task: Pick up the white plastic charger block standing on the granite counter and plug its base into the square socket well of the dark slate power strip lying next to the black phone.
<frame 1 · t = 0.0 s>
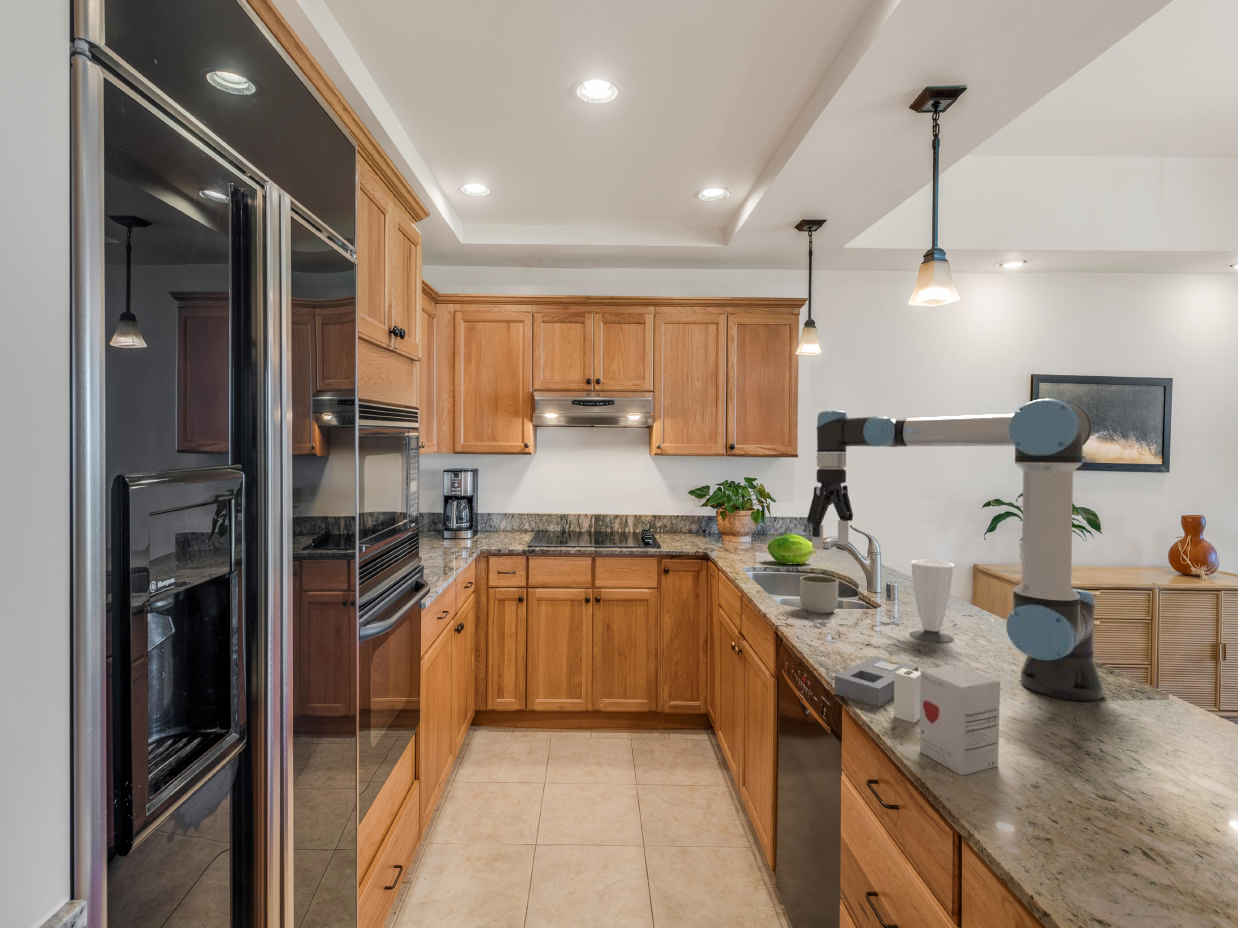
hand: (830, 546, 165), 28 cm above the countertop, fingers open, 13 cm apart
supplement box: (957, 760, 107), on the countertop
charger: (908, 716, 124), on the countertop
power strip: (877, 688, 138), on the countertop
planter: (818, 611, 206), on the countertop
cup: (931, 637, 177), on the countertop
phone: (948, 698, 133), on the countertop
green oval fruit: (791, 564, 293), on the countertop
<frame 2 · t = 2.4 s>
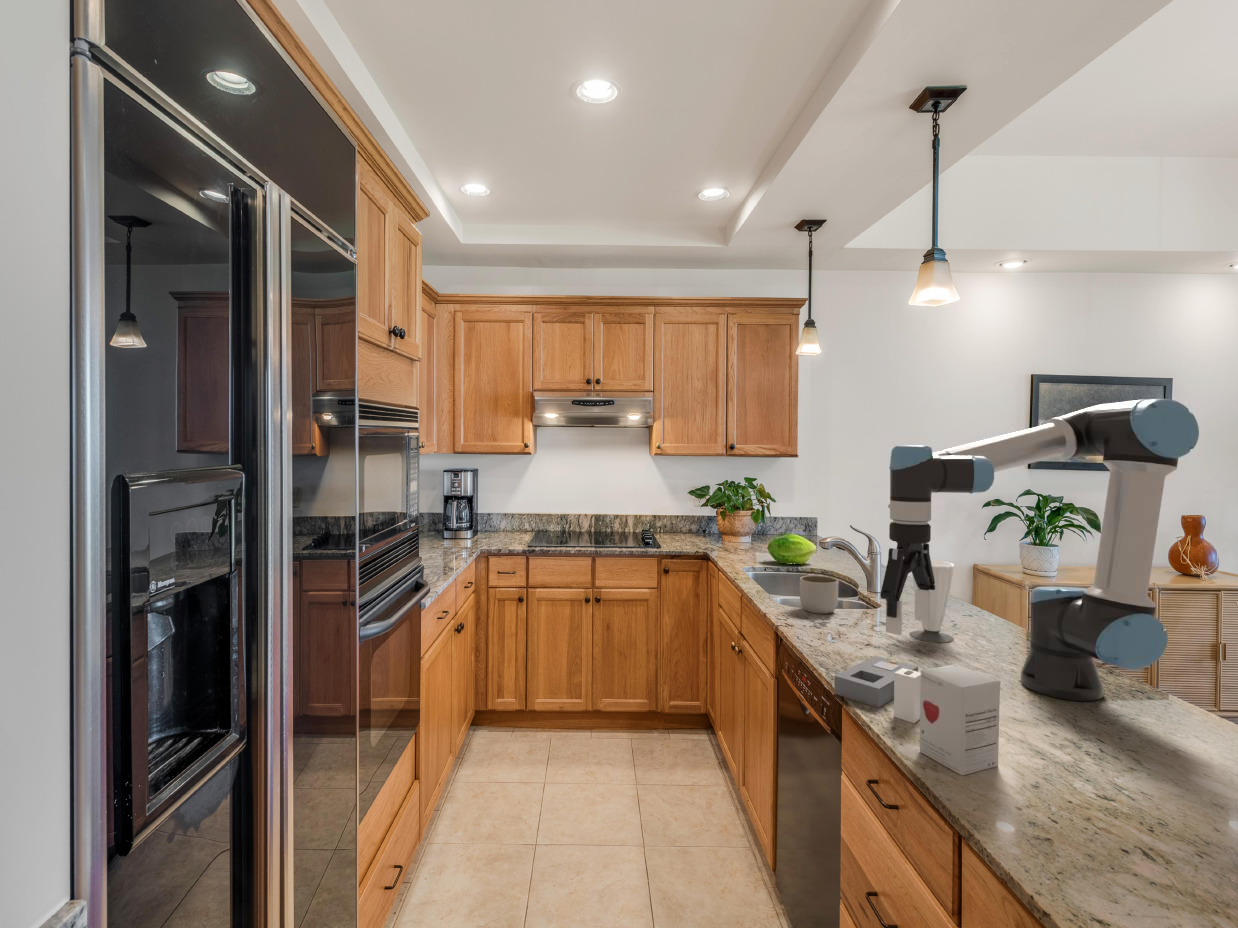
hand: (908, 626, 123), 18 cm above the countertop, fingers open, 13 cm apart
nothing on the countertop moved.
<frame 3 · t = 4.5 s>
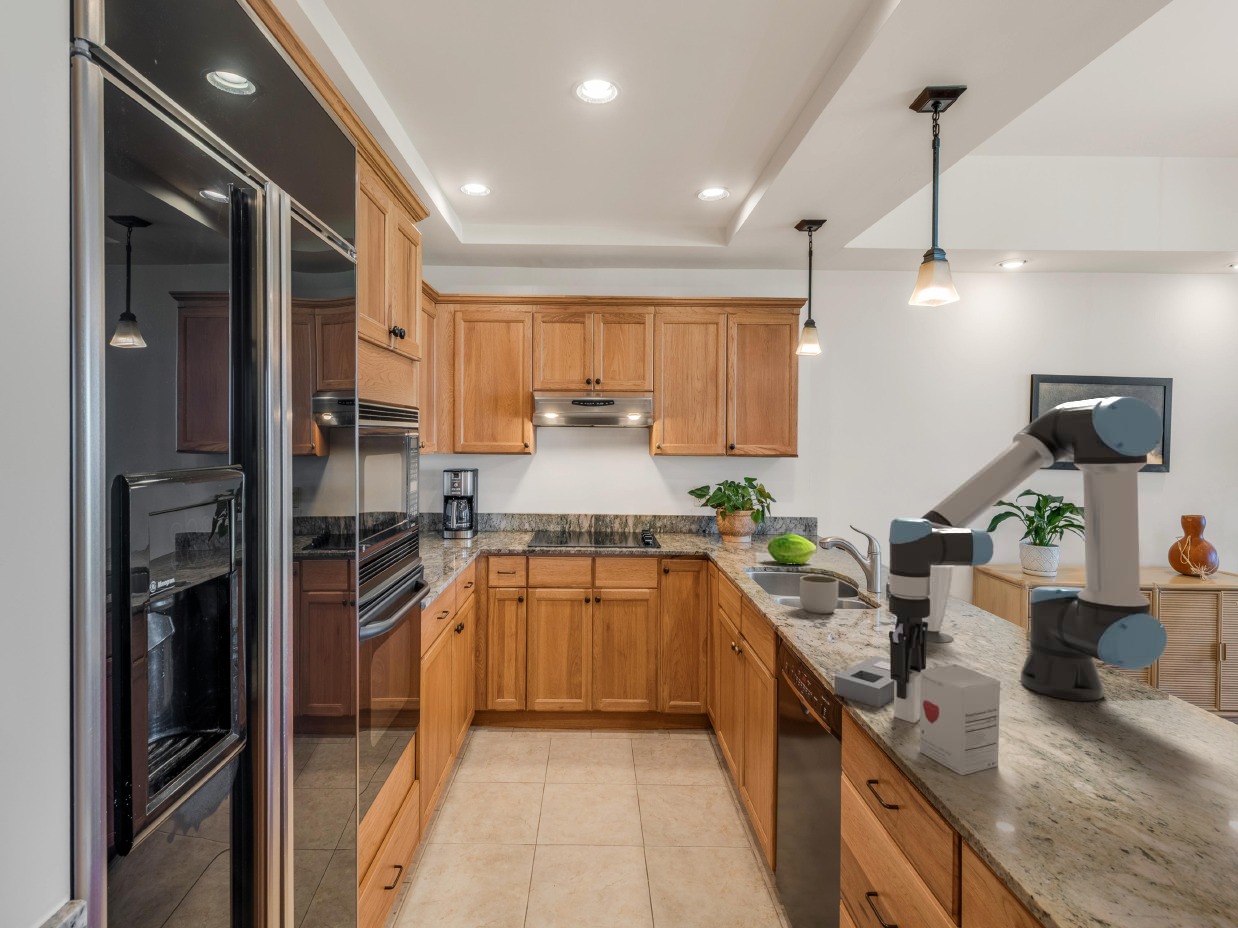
hand: (908, 709, 124), 1 cm above the countertop, fingers closed on charger, 4 cm apart
charger: (908, 716, 124), on the countertop, touching gripper
everything else where it was.
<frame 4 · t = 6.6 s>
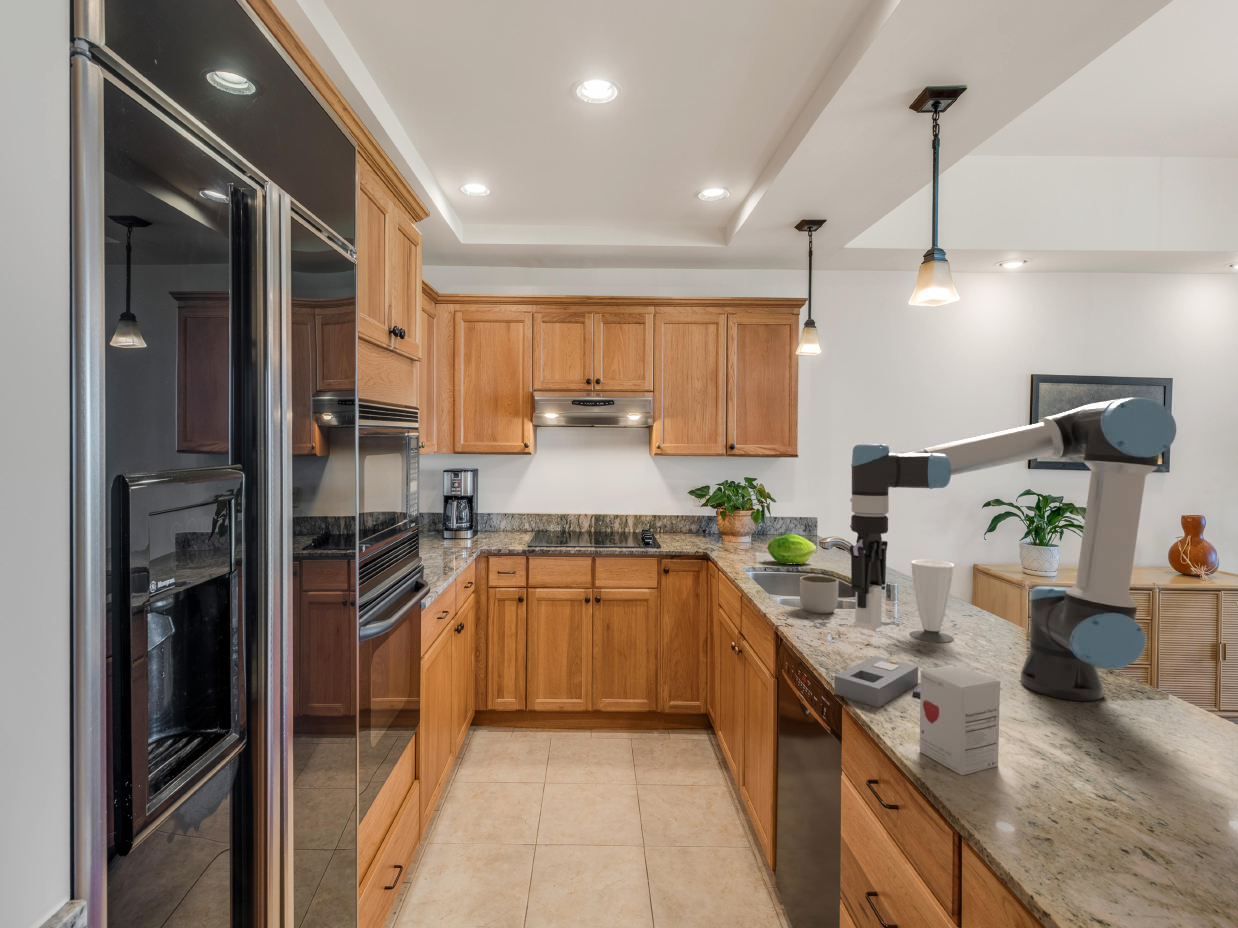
hand: (868, 619, 134), 17 cm above the countertop, fingers closed on charger, 4 cm apart
charger: (868, 626, 134), point 15 cm above the countertop, touching gripper
everything else where it was.
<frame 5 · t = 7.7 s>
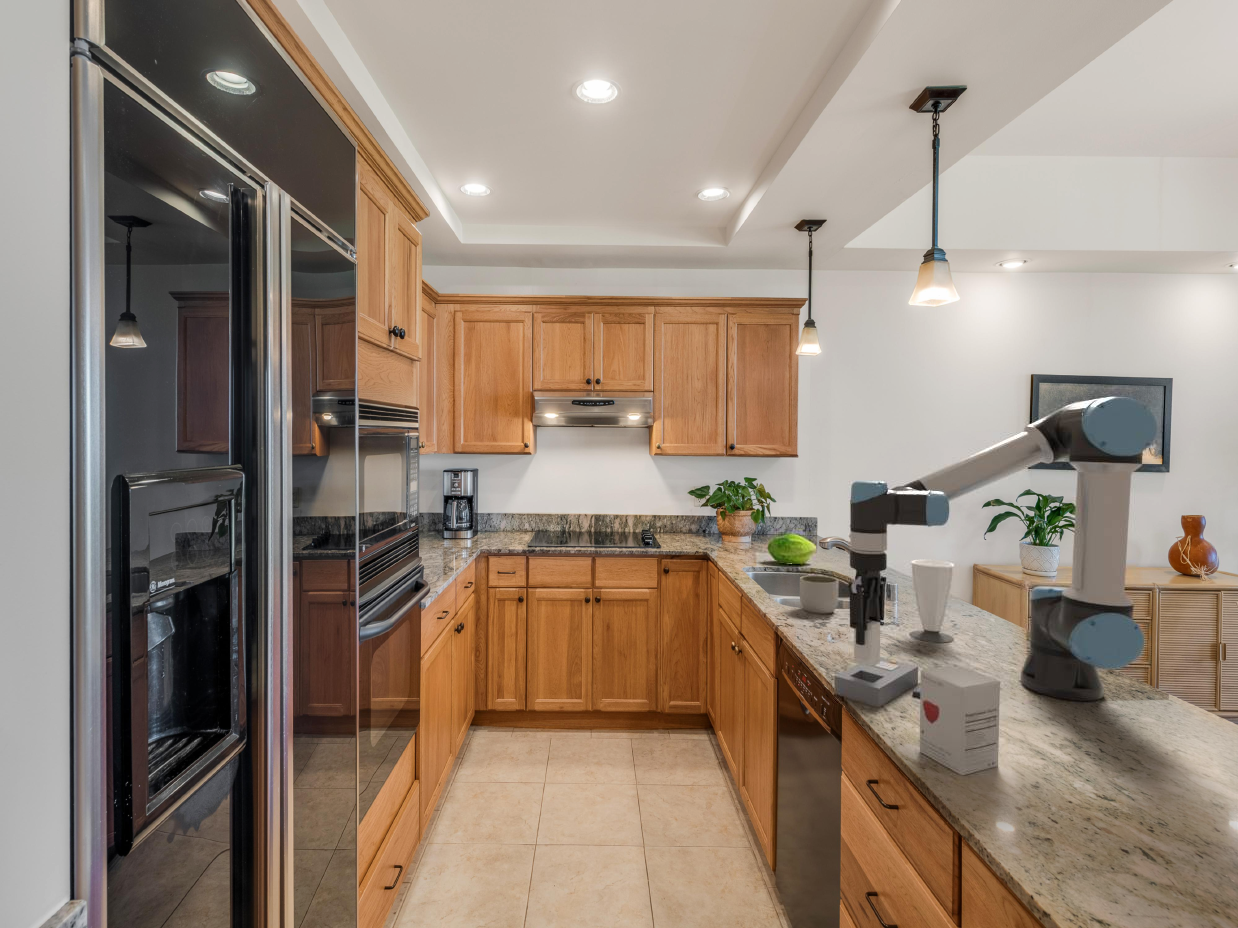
hand: (867, 655, 135), 9 cm above the countertop, fingers closed on charger, 4 cm apart
charger: (866, 662, 135), point 7 cm above the countertop, touching gripper
everything else where it was.
when the fingers open (4 cm above the countertop, at t = 8.7 s): charger drops 2 cm, resting on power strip.
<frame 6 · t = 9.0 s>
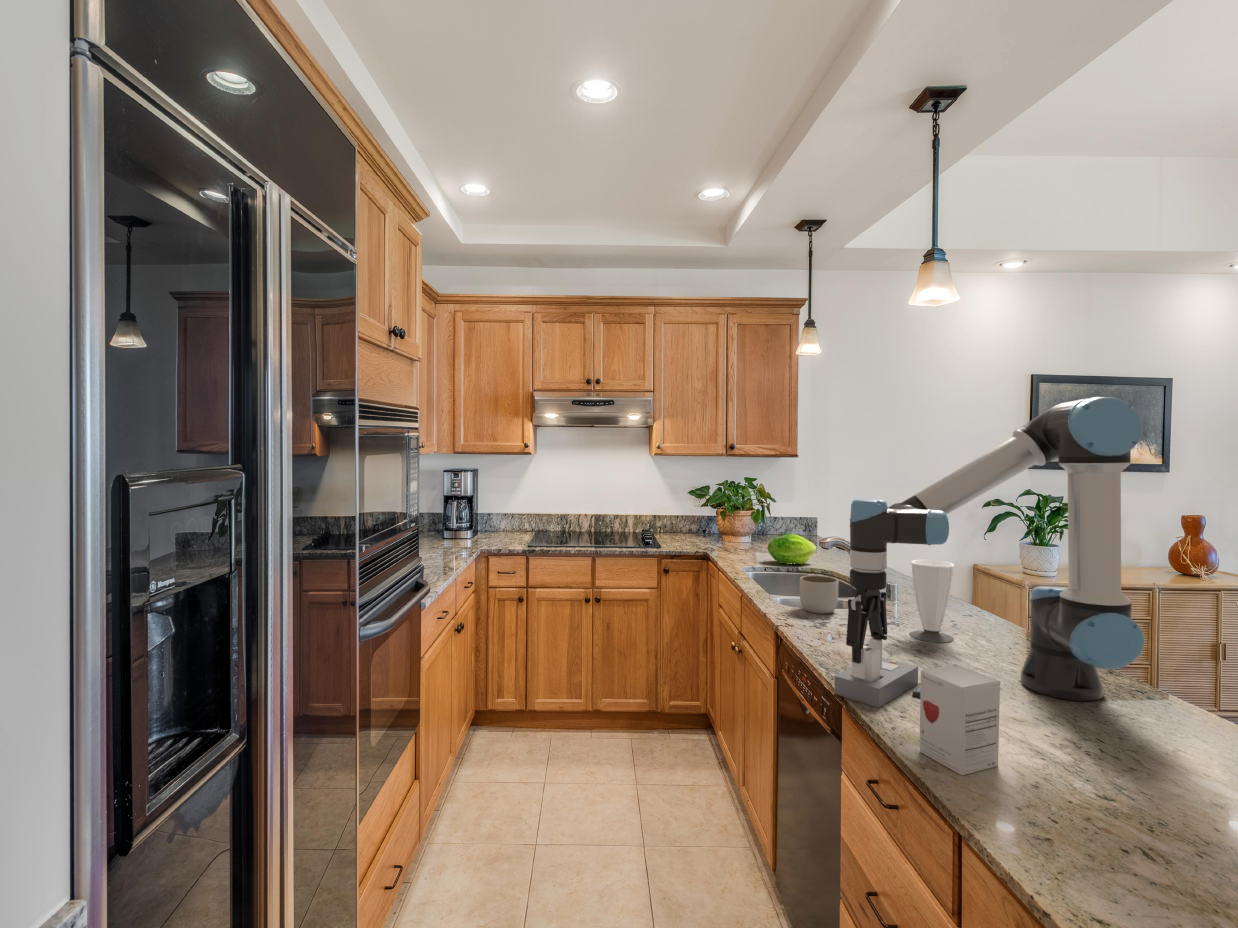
hand: (867, 672, 135), 5 cm above the countertop, fingers open, 7 cm apart
charger: (866, 689, 135), point 1 cm above the countertop, touching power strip
everything else where it was.
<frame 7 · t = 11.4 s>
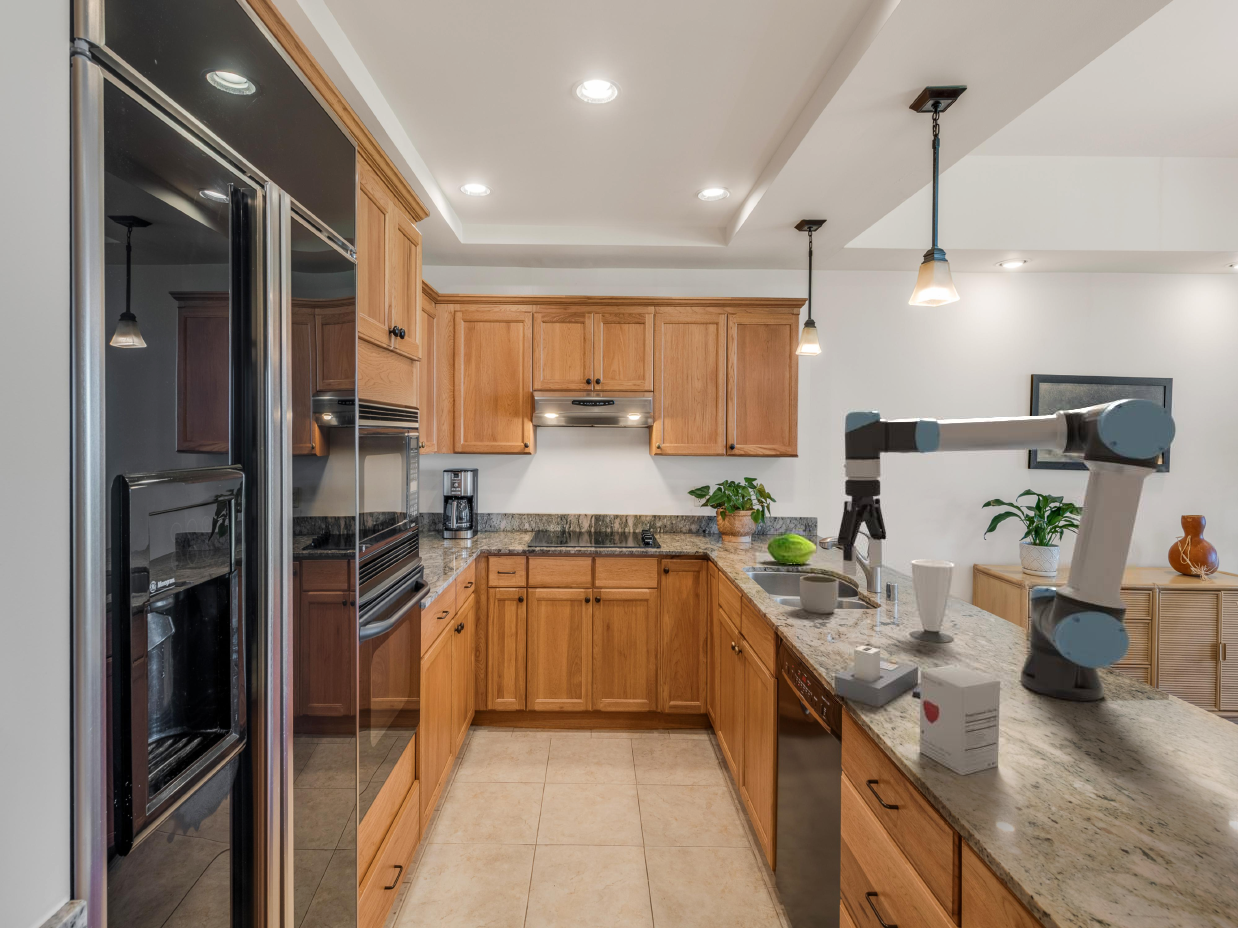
hand: (862, 570, 141), 26 cm above the countertop, fingers open, 13 cm apart
nothing on the countertop moved.
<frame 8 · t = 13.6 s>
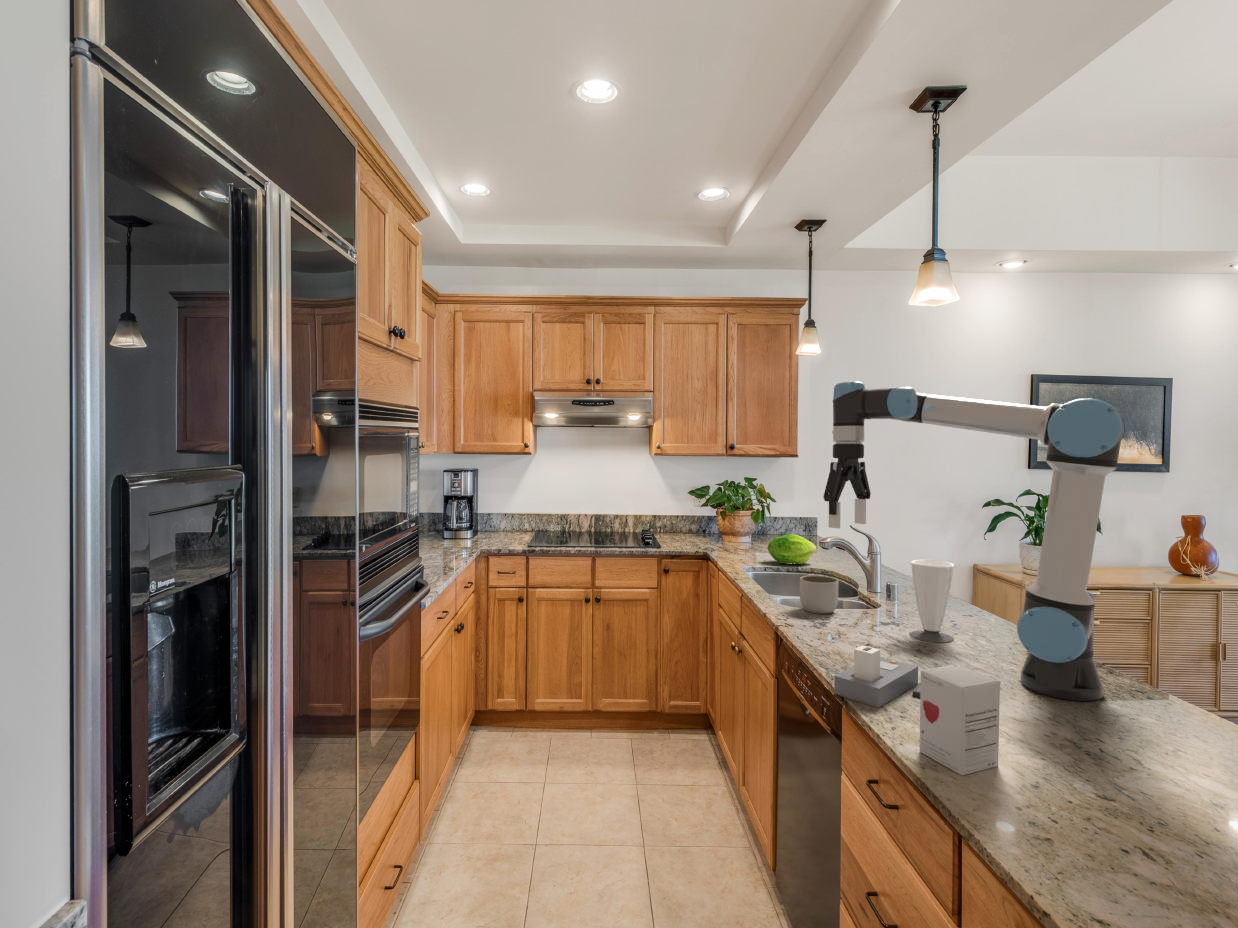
hand: (847, 525, 157), 35 cm above the countertop, fingers open, 13 cm apart
nothing on the countertop moved.
at the end: charger 0.0 cm from the target spot on the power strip, point 1.0 cm above the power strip's base; charger tilted 0°; the gripper is holding nothing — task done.
